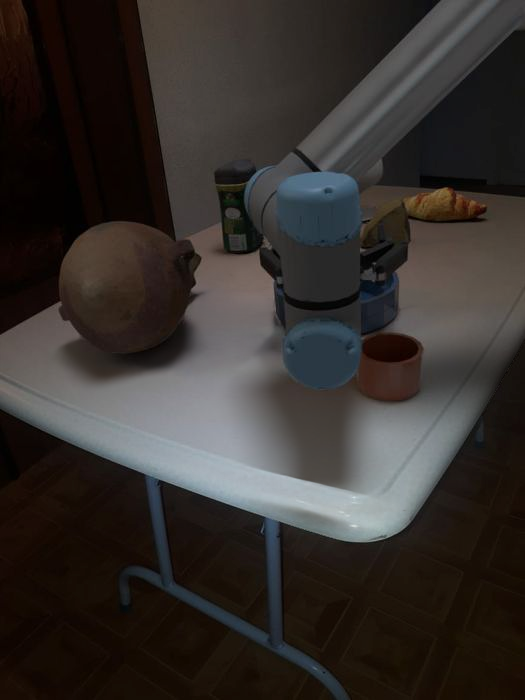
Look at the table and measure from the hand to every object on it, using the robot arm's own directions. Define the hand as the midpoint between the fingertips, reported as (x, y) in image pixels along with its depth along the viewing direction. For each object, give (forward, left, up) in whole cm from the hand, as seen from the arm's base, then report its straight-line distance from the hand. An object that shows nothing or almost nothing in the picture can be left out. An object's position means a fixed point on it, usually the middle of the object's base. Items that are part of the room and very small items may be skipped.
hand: (334, 235), depth 83 cm
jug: (+29, +10, -14) cm, 33 cm away
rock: (+1, -36, -14) cm, 38 cm away
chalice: (+13, -54, -14) cm, 57 cm away
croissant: (-7, -56, -14) cm, 58 cm away
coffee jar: (+31, -29, -14) cm, 44 cm away
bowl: (+1, -2, -14) cm, 14 cm away
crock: (-12, +17, -14) cm, 25 cm away
